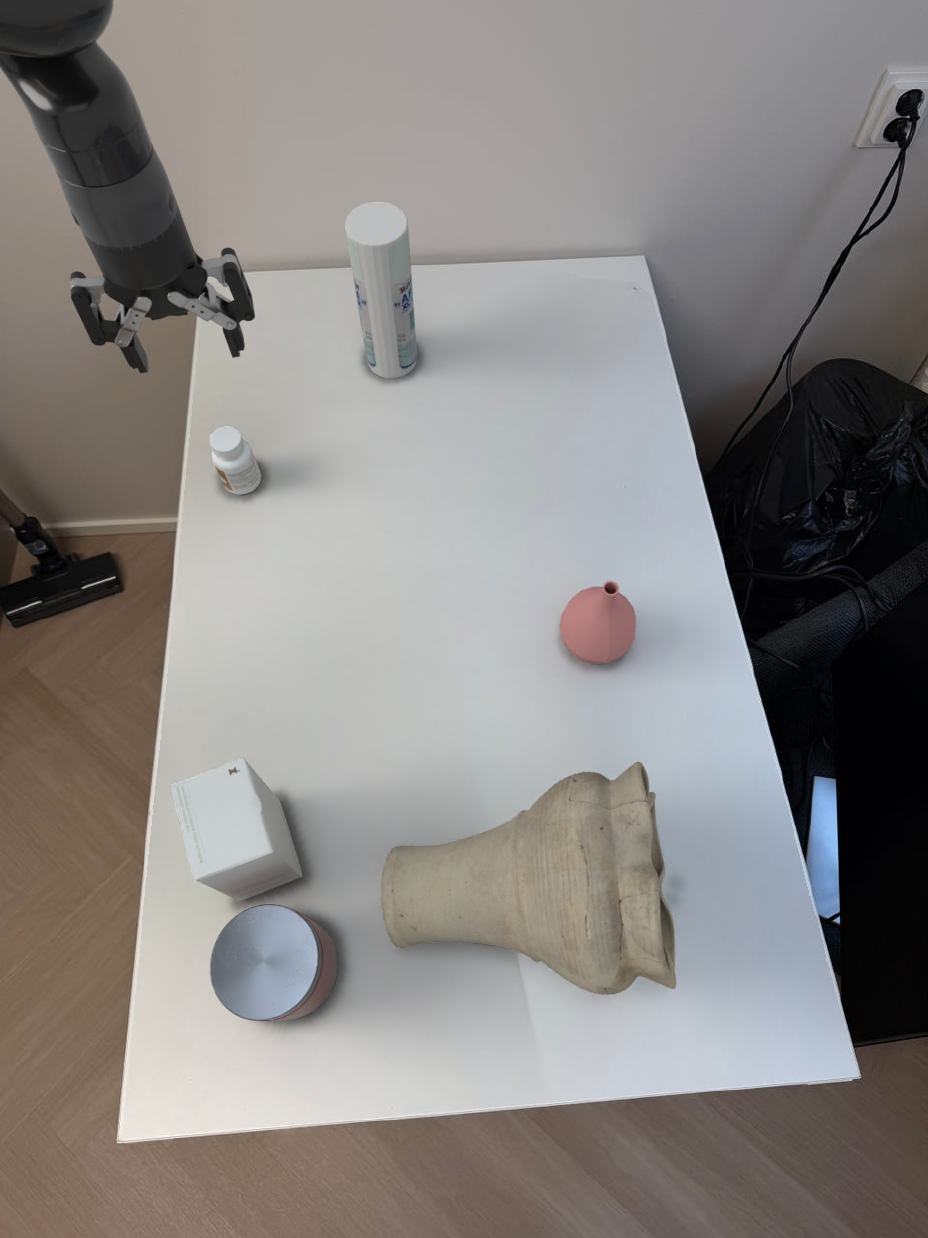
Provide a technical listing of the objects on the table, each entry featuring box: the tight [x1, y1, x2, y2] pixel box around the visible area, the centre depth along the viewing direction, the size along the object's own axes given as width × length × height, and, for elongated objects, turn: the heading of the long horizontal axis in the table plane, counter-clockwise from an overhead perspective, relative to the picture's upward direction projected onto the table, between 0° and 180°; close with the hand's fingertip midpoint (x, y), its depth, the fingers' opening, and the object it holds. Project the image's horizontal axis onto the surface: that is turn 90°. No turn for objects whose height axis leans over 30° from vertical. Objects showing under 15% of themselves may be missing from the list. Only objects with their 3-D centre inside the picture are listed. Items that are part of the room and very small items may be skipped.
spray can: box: [344, 200, 418, 379], centre depth 95 cm, size 6×6×20 cm
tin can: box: [209, 903, 339, 1022], centre depth 70 cm, size 8×8×11 cm
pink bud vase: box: [559, 580, 637, 665], centre depth 83 cm, size 8×8×12 cm
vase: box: [380, 761, 677, 996], centre depth 71 cm, size 22×22×28 cm
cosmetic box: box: [169, 756, 303, 902], centre depth 72 cm, size 8×7×16 cm
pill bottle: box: [208, 425, 262, 495], centre depth 93 cm, size 4×4×8 cm
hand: (190, 358), depth 79 cm, fingers open, 8 cm apart
